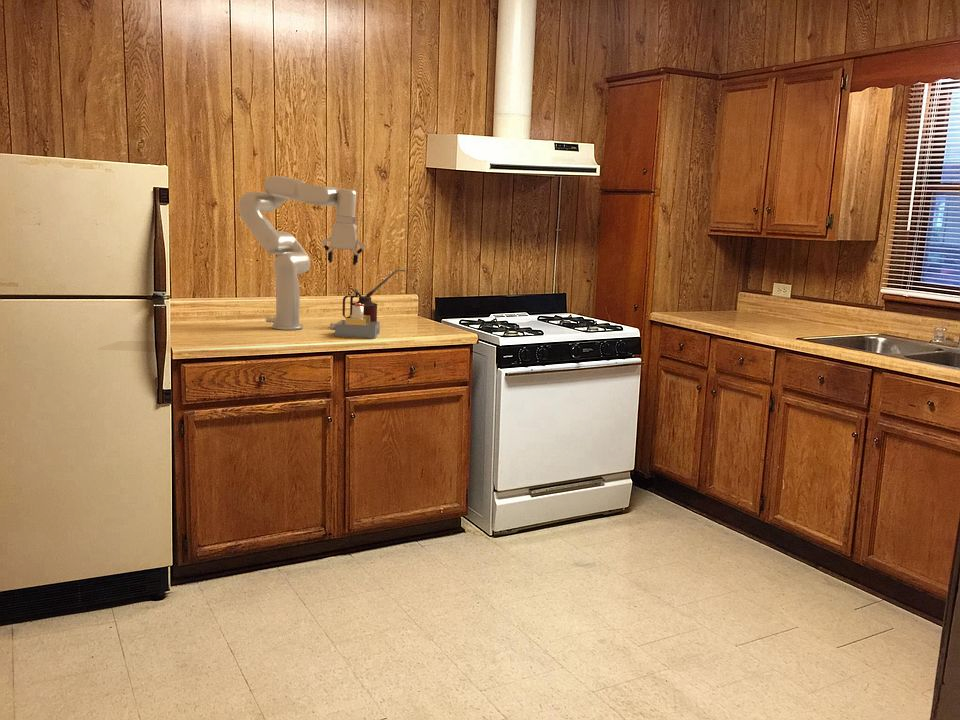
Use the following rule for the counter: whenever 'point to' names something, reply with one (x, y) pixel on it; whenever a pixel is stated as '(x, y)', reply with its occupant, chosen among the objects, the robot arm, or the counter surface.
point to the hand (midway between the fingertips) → (342, 263)
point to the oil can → (366, 301)
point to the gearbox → (356, 327)
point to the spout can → (358, 311)
